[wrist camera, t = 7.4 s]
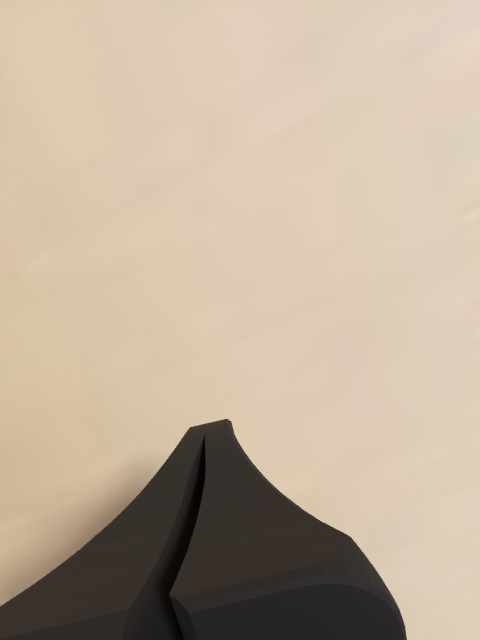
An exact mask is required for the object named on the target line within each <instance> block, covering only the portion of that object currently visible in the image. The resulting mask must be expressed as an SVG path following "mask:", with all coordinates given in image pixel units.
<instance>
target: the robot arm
mask: <svg viewBox="0 0 480 640" xmlns="http://www.w3.org/2000/svg"><path fill="white" fill-rule="evenodd" d="M0 640H407V638H406V631H405V625H404V622H403V619H402V616H401V613H400V610H399V608H398V606H397V604H396V602H395V600H394V598H393V596H392V595H391V593H390V591H389V590H388V588H387V587H386V585H385V583H384V582H383V580H382V579H381V577H380V576H379V574H378V572H377V571H376V570H375V568H374V567H373V565H372V564H371V563H370V561H369V560H368V559H367V557H366V556H365V555H364V553H363V552H362V551H361V549H360V548H359V547H358V546H357V544H356V543H355V542H354V541H353V539H352V538H351V537H350V536H348V535H346V534H345V533H343V532H341V531H339V530H337V529H335V528H333V527H331V526H329V525H327V524H325V523H323V522H321V521H320V520H318V519H317V518H315V517H313V516H312V515H310V514H309V513H307V512H306V511H304V510H303V509H302V508H300V507H299V506H298V505H296V504H295V503H294V502H292V501H291V500H290V499H289V498H287V497H286V496H285V495H283V494H282V493H281V492H280V491H279V490H278V489H277V488H275V487H274V486H273V485H272V484H271V483H270V482H269V481H268V480H267V479H266V478H265V477H264V476H263V475H262V474H261V472H260V471H259V470H258V469H257V468H256V467H255V465H254V464H253V463H252V462H251V460H250V459H249V458H248V456H247V455H246V453H245V452H244V450H243V449H242V447H241V446H240V444H239V442H238V441H237V439H236V437H235V435H234V431H233V427H232V423H231V421H230V420H228V419H224V420H220V421H215V422H211V423H207V424H203V425H198V426H194V427H190V428H189V430H188V431H187V432H186V434H185V435H184V437H183V438H182V439H181V441H180V442H179V444H178V445H177V447H176V448H175V449H174V451H173V452H172V454H171V455H170V456H169V458H168V459H167V460H166V462H165V463H164V465H163V466H162V467H161V468H160V470H159V471H158V472H157V473H156V474H155V476H154V477H153V478H152V479H151V481H150V482H149V483H148V484H147V485H146V487H145V488H144V489H143V490H142V491H141V492H140V494H139V495H138V496H137V497H136V498H135V499H134V500H133V501H132V502H131V503H130V504H129V505H128V506H127V507H126V508H125V509H124V510H123V511H122V512H121V513H120V514H119V515H118V516H117V517H116V518H115V519H114V520H113V521H112V522H111V523H110V524H109V525H107V526H106V527H105V528H104V529H103V530H102V531H101V532H100V533H98V534H97V535H96V536H95V537H94V538H93V539H92V540H90V541H89V542H88V543H87V544H86V545H85V546H84V547H82V548H81V549H80V550H79V551H77V552H76V553H75V554H74V555H72V556H71V557H70V558H69V559H67V560H66V561H65V562H63V563H62V564H61V565H59V566H58V567H57V568H55V569H54V570H53V571H51V572H50V573H49V574H47V575H46V576H45V577H43V578H42V579H41V580H39V581H38V582H36V583H35V584H33V585H32V586H31V587H29V588H28V589H26V590H25V591H23V592H22V593H20V594H19V595H17V596H16V597H14V598H13V599H11V600H10V601H8V602H7V603H5V604H4V605H2V606H1V607H0Z"/></svg>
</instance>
